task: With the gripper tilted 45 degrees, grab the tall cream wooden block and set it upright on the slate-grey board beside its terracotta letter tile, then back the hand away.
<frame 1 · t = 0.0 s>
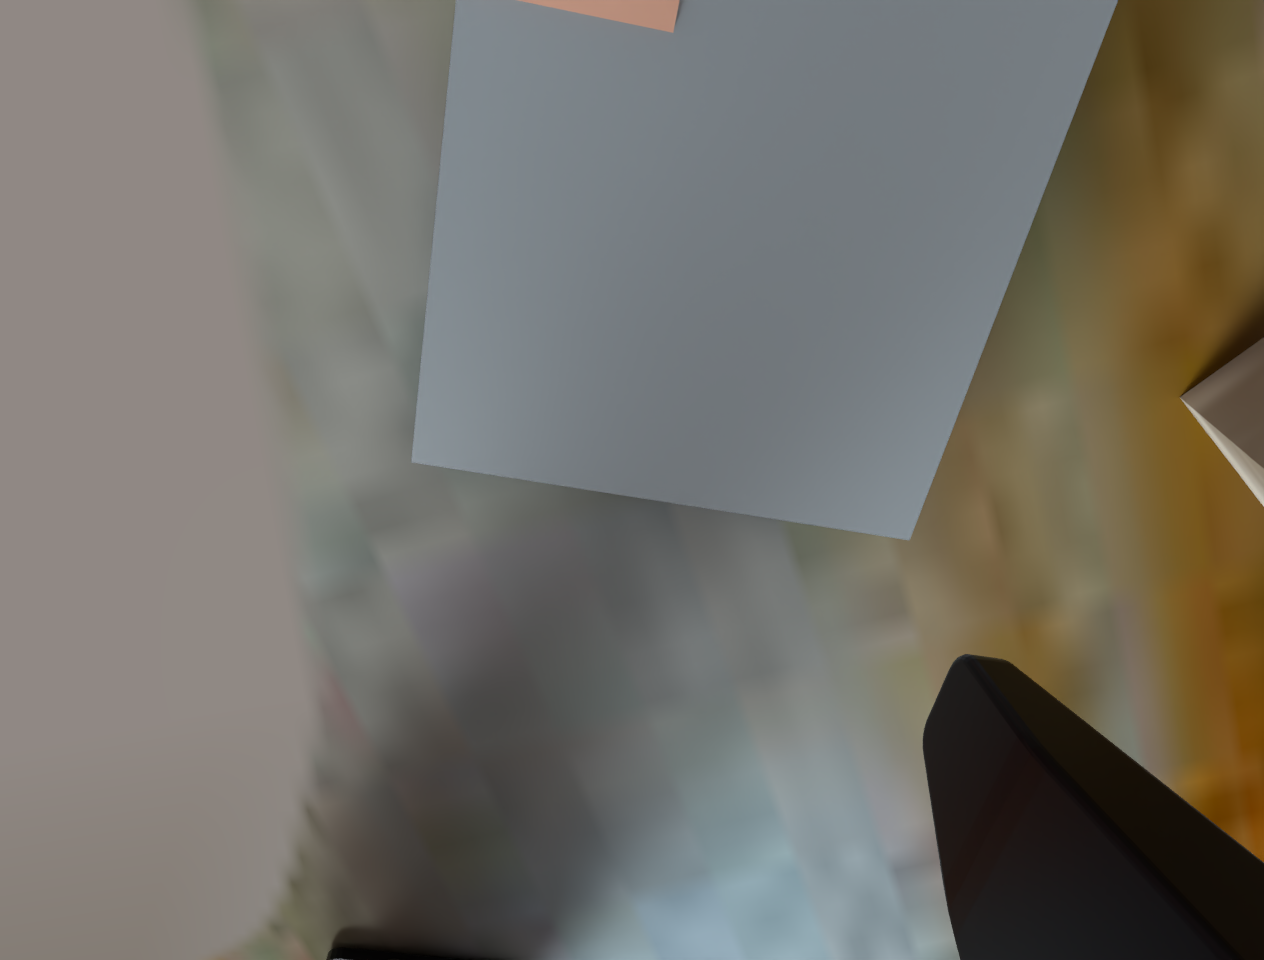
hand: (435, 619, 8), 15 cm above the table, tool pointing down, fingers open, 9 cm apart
slate board: (732, 197, 21), on the table
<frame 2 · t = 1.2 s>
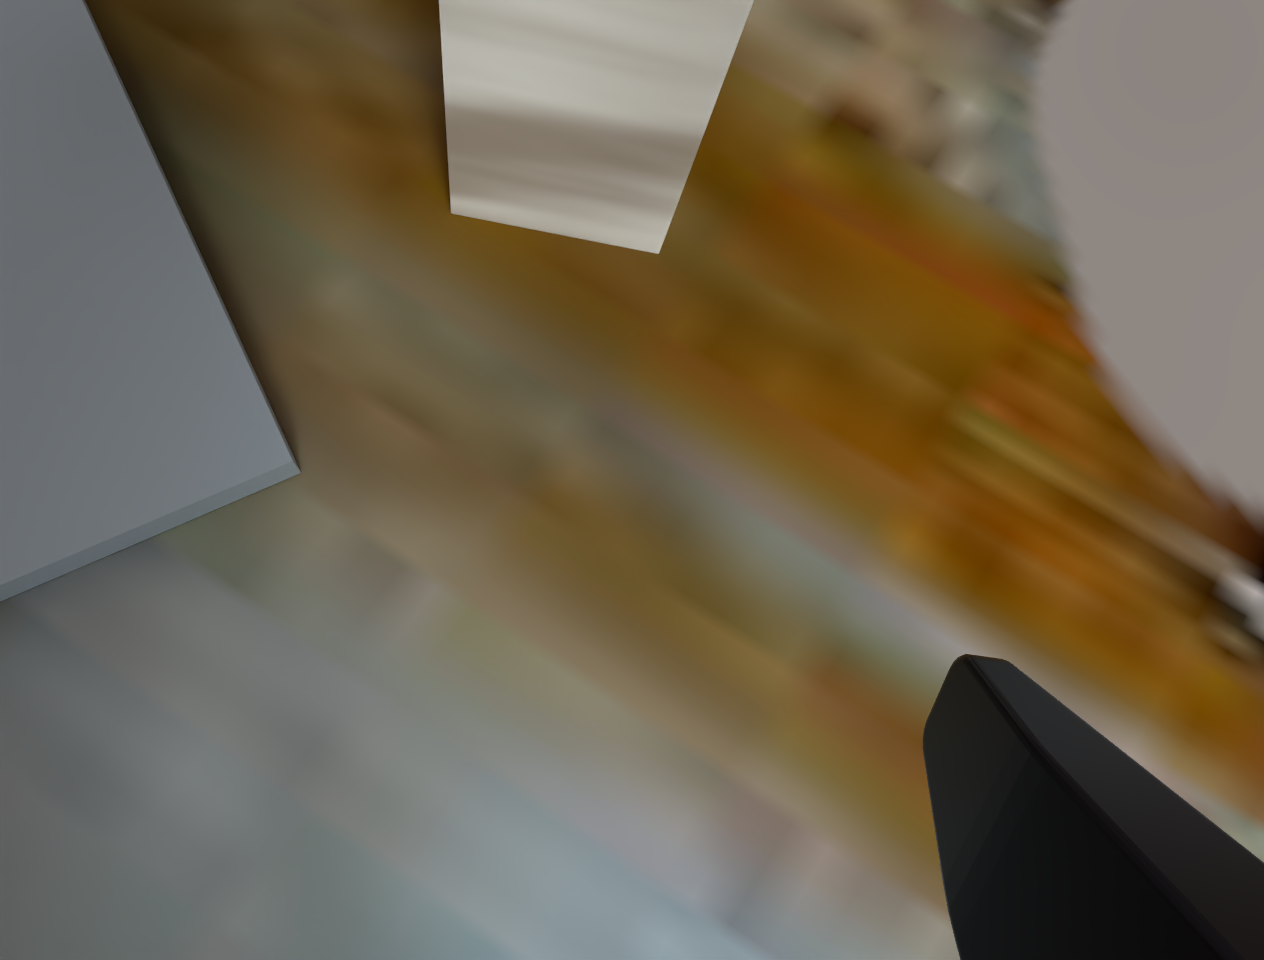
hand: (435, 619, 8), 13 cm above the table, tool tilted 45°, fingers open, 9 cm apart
cream block: (571, 142, 25), on the table
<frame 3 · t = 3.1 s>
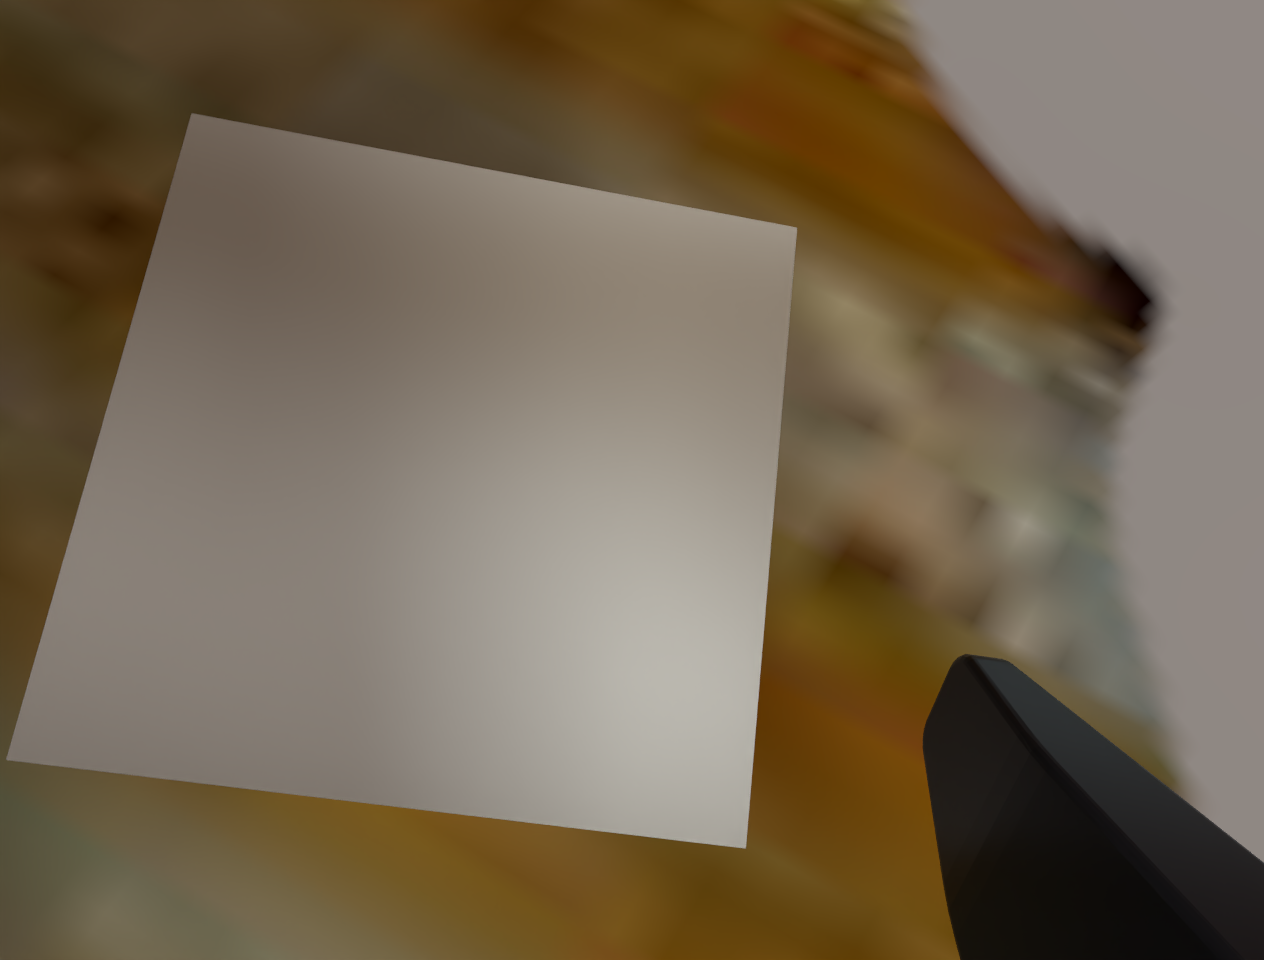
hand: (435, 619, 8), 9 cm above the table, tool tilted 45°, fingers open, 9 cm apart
cream block: (465, 628, 17), on the table
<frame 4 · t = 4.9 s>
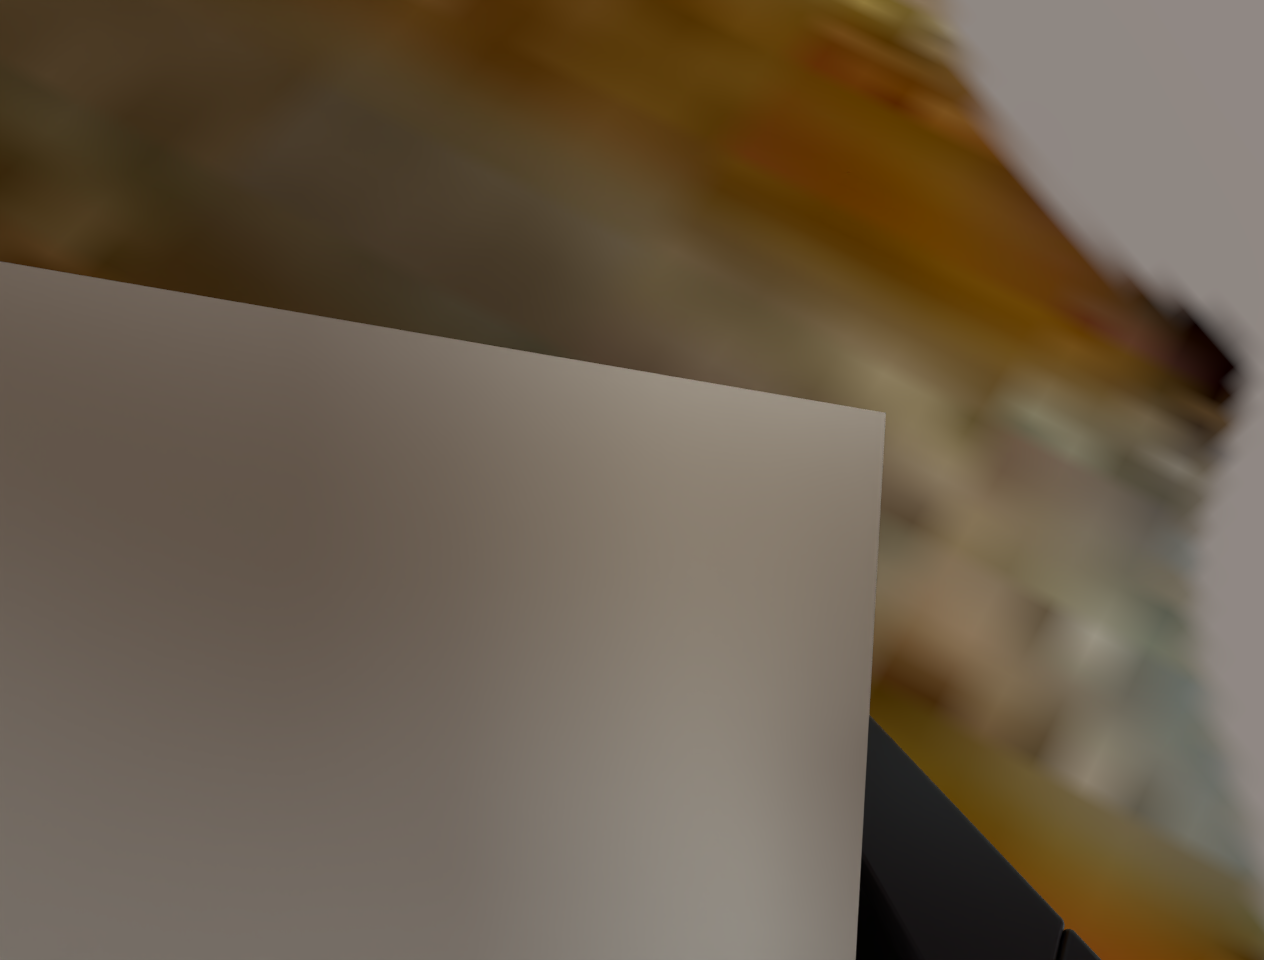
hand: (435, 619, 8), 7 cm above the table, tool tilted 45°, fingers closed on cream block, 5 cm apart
cream block: (436, 775, 14), on the table, touching gripper
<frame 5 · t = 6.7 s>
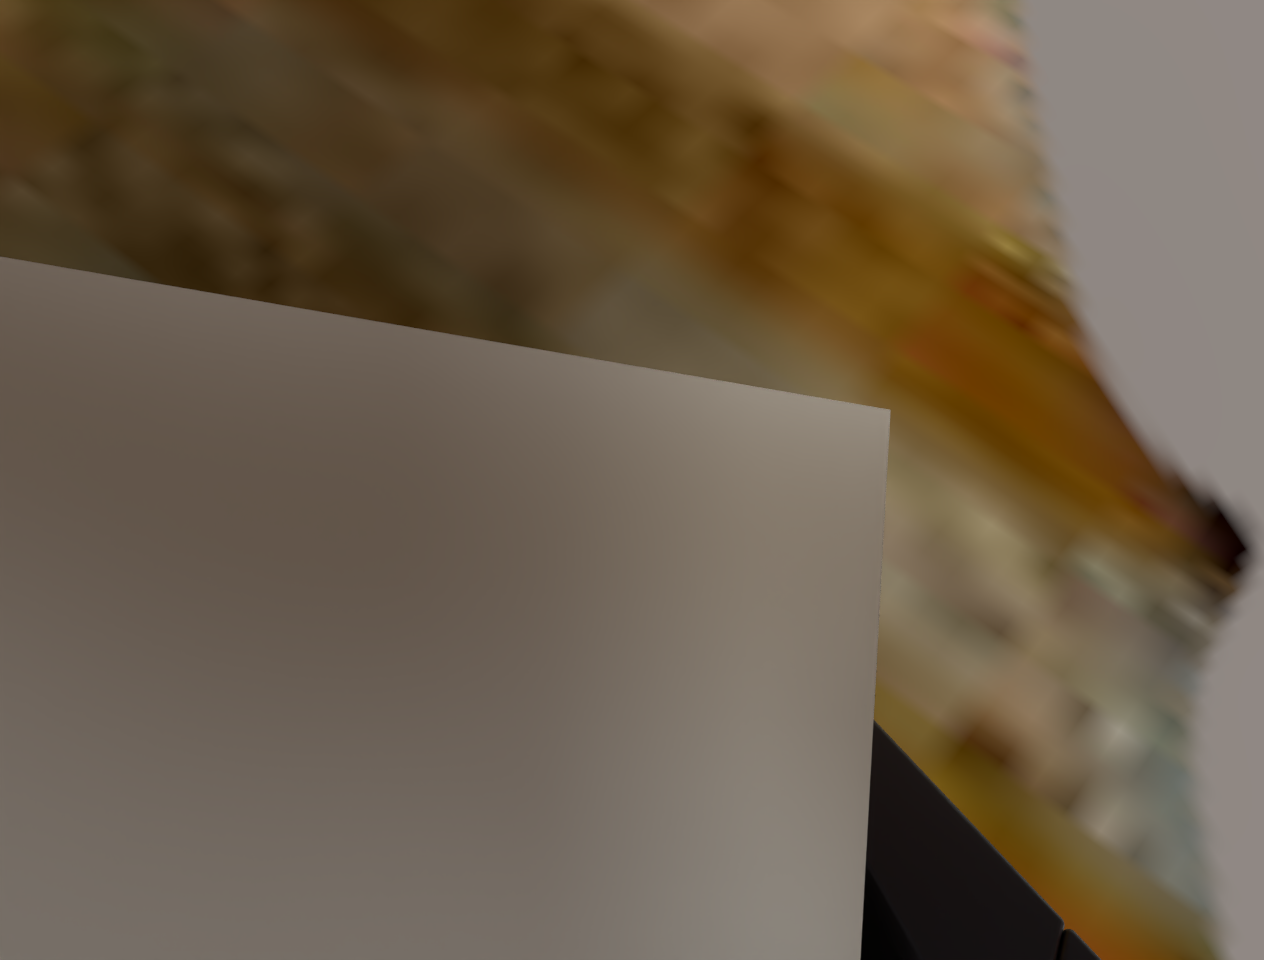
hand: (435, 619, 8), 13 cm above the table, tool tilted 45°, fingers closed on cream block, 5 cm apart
cream block: (438, 773, 14), point 7 cm above the table, touching gripper
when the fingers open (9 cm above the table, at t = 8.9 s): cream block drops 1 cm, resting on slate board.
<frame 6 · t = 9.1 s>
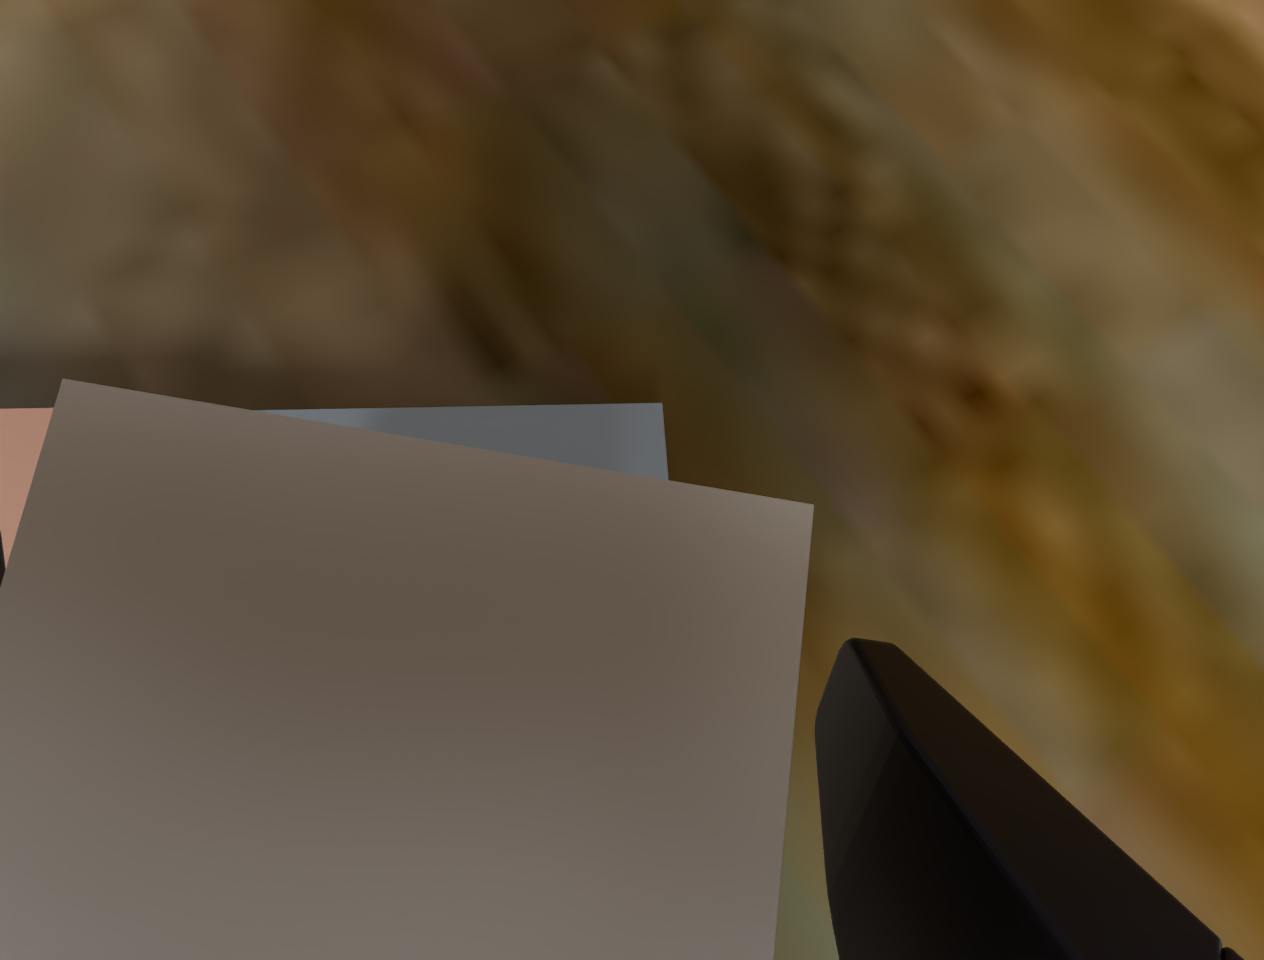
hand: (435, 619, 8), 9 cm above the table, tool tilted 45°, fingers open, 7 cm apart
slate board: (315, 845, 16), on the table
cream block: (441, 771, 16), point 1 cm above the table, touching slate board
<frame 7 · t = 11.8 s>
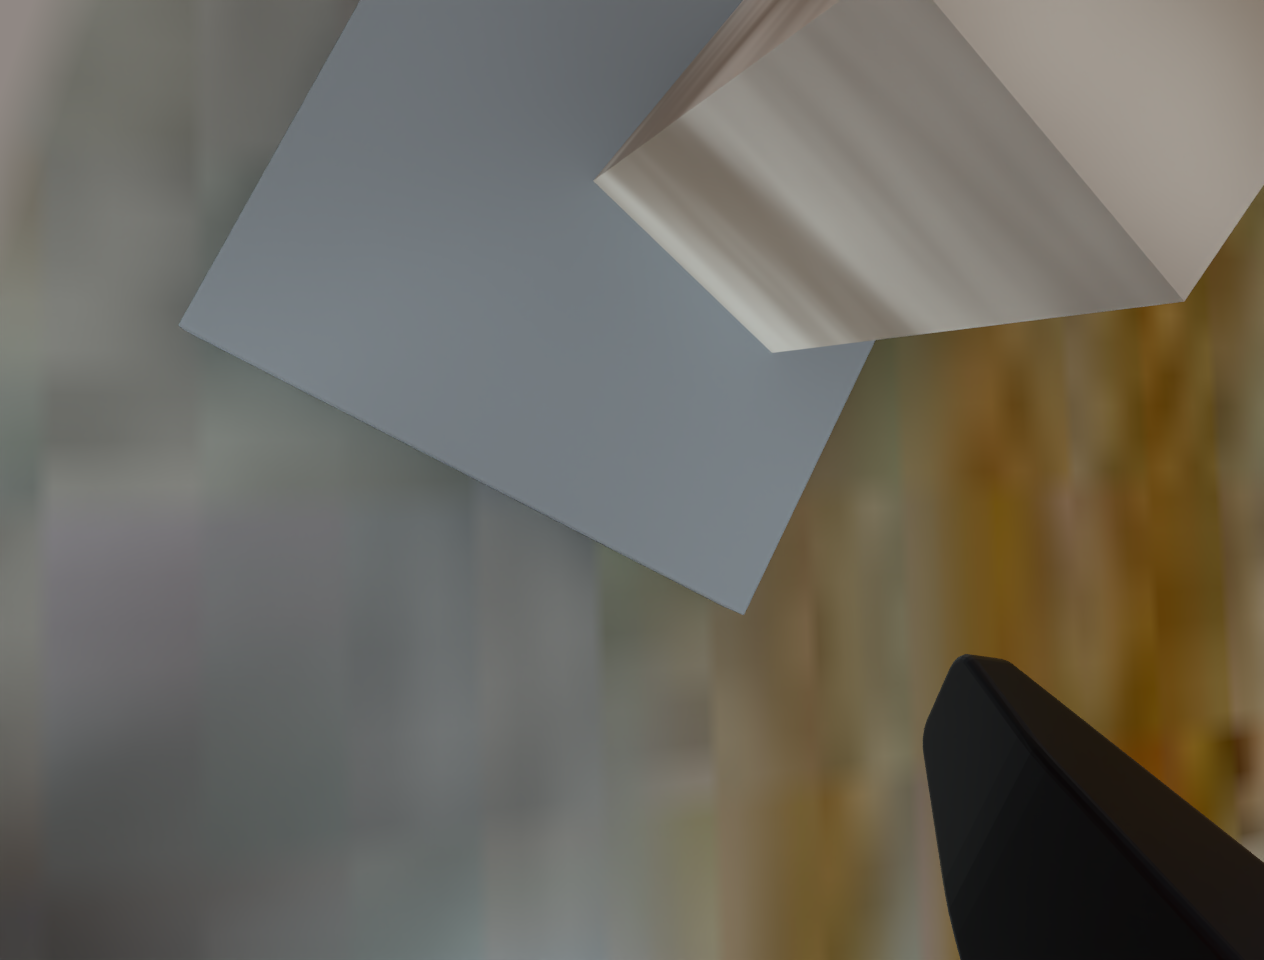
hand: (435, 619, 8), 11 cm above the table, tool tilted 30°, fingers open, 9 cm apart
slate board: (636, 176, 21), on the table
cream block: (758, 177, 20), point 1 cm above the table, touching slate board
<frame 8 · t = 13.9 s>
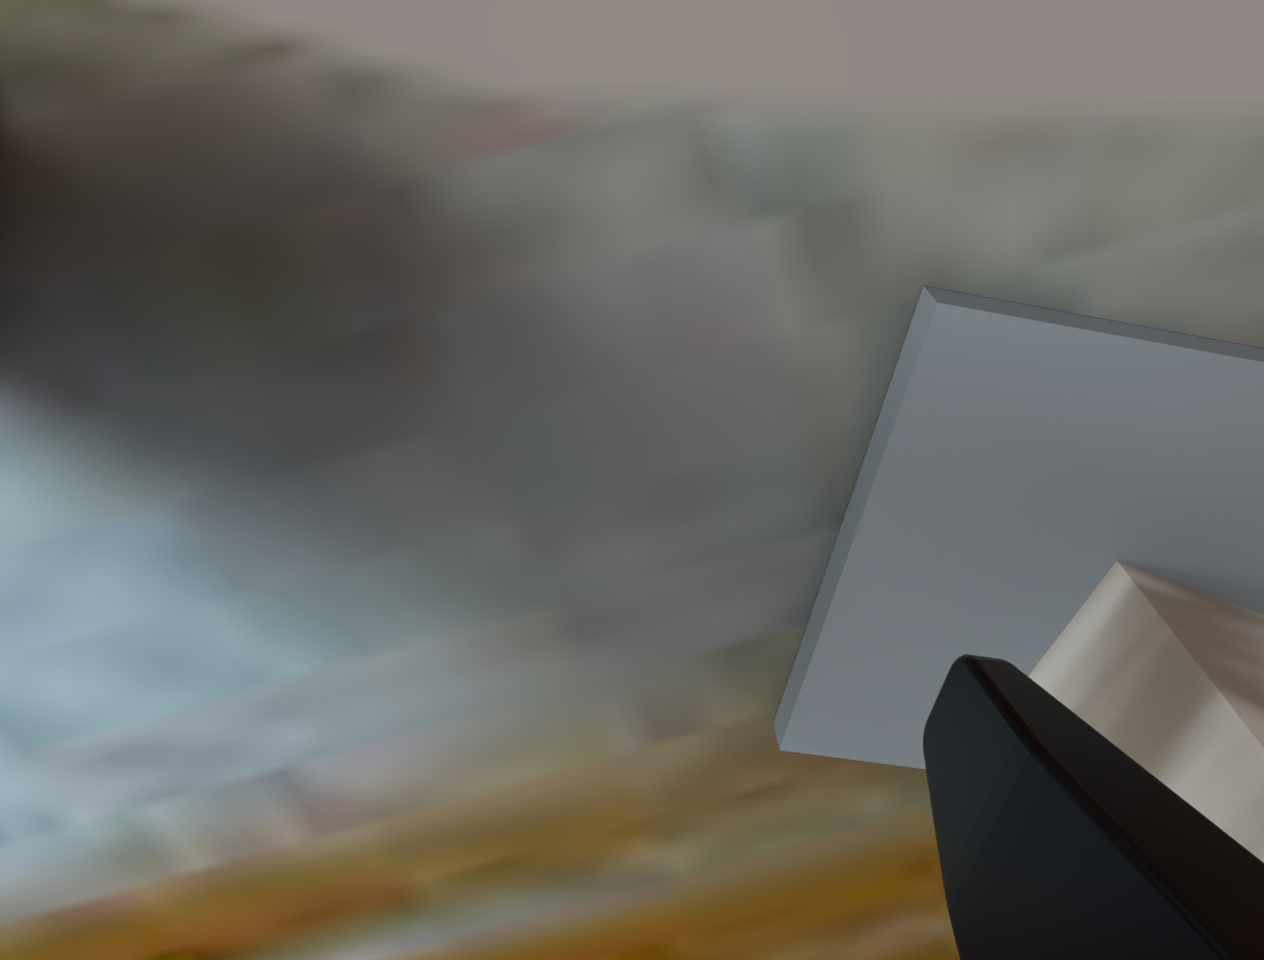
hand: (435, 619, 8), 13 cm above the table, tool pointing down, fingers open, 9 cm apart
slate board: (1119, 574, 24), on the table
cream block: (1140, 672, 24), point 1 cm above the table, touching slate board
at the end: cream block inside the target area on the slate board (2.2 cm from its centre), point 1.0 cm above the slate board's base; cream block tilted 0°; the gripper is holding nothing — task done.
